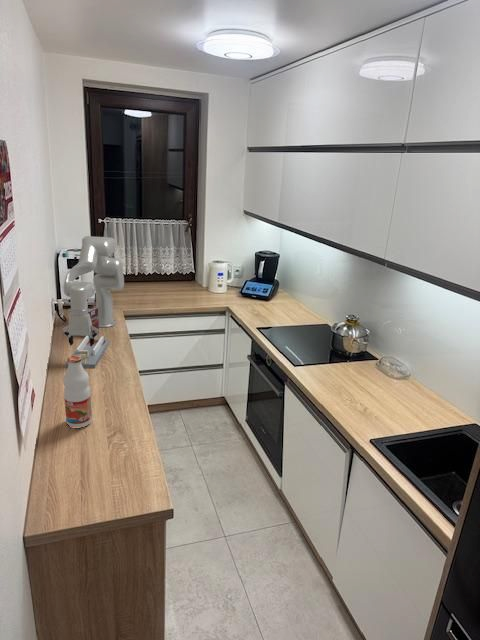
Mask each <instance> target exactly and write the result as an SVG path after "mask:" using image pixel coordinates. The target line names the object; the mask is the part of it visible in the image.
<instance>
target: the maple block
mask: <svg viewBox="0 0 480 640" xmlns="http://www.w3.org/2000/svg"><path fill="white" fill-rule="evenodd" d="M76 355H79V356H81V358H82V362H81V364H86V362H87V361H88V359H89V353H88V350H79V351H78V352H77V353H76Z"/></svg>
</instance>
